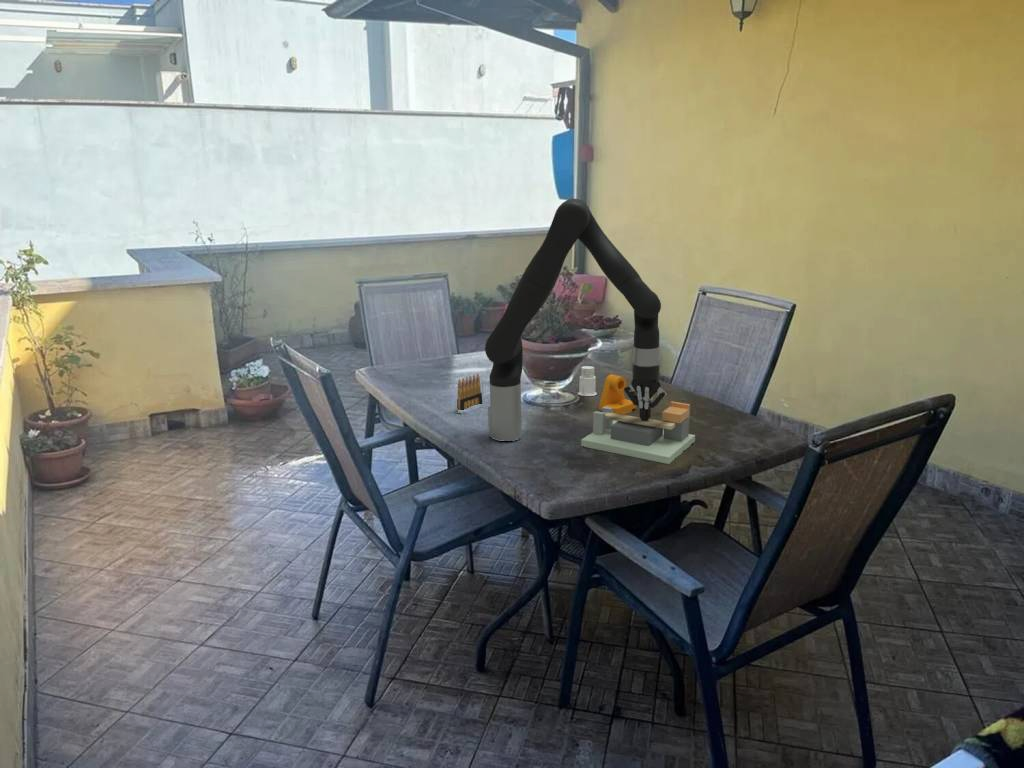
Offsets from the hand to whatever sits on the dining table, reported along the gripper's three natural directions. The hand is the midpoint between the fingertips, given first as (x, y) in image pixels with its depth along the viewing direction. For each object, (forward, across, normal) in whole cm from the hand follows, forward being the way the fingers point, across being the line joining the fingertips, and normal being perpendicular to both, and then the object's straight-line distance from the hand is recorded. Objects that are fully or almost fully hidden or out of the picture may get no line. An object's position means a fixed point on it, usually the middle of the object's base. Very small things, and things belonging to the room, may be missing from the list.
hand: (645, 420), depth 206 cm
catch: (0, +7, +5) cm, 9 cm away
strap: (+1, -3, 0) cm, 3 cm away
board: (+8, -2, 0) cm, 8 cm away
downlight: (+8, -38, +37) cm, 54 cm away
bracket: (+8, -20, +25) cm, 33 cm away
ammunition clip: (+7, -64, +1) cm, 65 cm away
